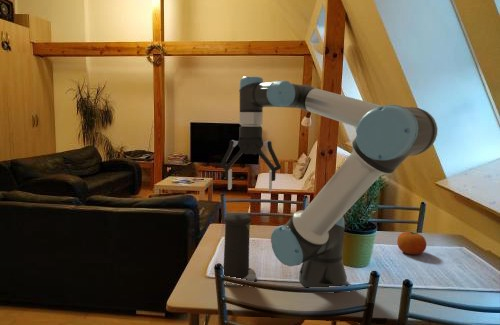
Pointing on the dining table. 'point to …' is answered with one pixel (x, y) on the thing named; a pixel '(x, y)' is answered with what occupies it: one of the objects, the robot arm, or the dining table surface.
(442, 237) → the dining table surface
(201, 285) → the dining table surface
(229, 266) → the container
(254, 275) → the flange plate
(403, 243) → the fruit
